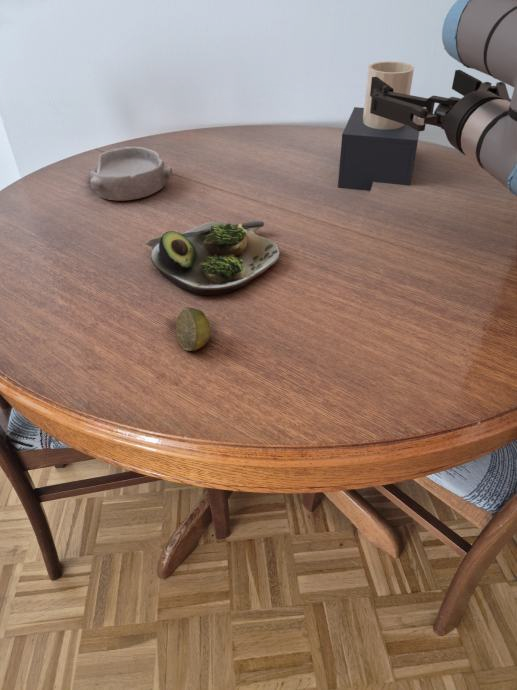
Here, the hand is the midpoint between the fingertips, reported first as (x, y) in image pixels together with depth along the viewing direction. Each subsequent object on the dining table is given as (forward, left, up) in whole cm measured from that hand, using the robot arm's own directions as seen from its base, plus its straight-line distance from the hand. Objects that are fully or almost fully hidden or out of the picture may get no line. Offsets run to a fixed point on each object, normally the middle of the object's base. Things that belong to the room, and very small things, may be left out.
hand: (414, 82), depth 84 cm
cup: (+4, -8, -9) cm, 13 cm away
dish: (+47, +8, -19) cm, 52 cm away
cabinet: (+4, -8, -18) cm, 21 cm away
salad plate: (+24, +29, -19) cm, 42 cm away
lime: (+20, +47, -19) cm, 55 cm away
